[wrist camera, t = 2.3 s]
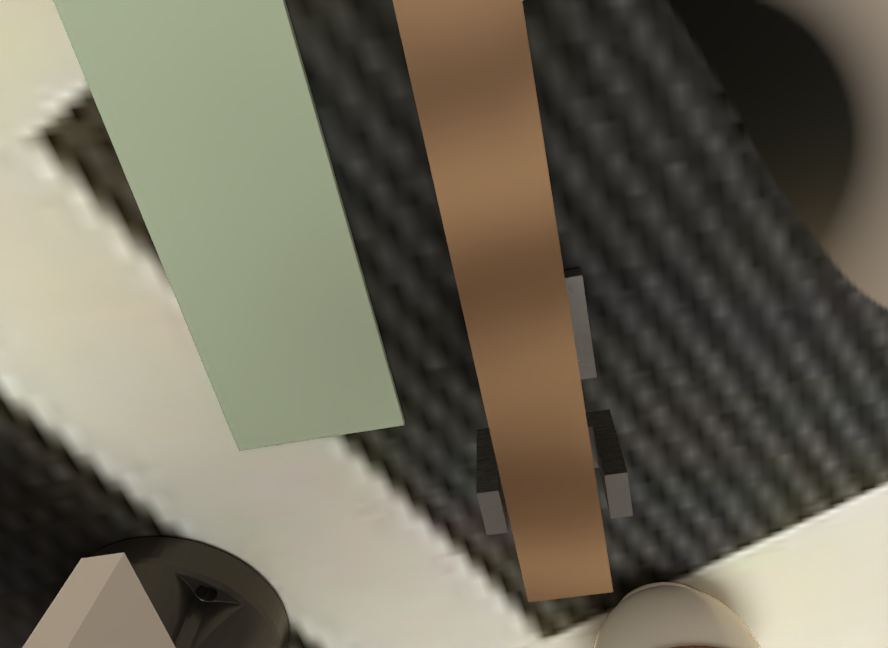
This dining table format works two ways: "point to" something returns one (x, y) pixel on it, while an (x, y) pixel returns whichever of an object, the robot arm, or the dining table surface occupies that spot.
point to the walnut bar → (510, 279)
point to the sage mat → (241, 208)
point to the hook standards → (599, 429)
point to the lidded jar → (672, 621)
